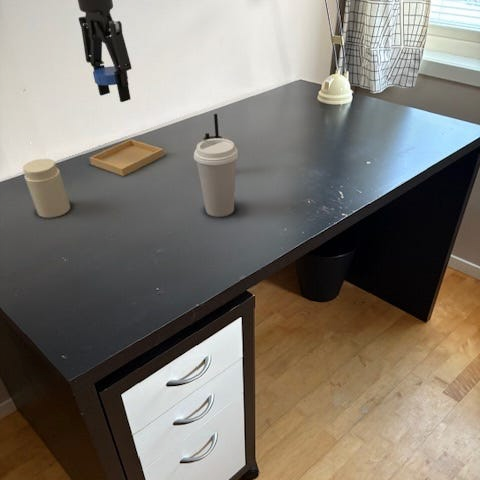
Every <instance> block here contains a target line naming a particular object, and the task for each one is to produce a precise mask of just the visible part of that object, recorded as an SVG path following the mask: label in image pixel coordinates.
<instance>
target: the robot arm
mask: <svg viewBox="0 0 480 480" xmlns="http://www.w3.org/2000/svg"><path fill="white" fill-rule="evenodd" d="M77 4H78V8H79V10H80V12H82V13H85V15H83V16H79V17H78V22H79V26H80V29H81V35H82V36H81V37H82V42H83V43H82V44H83V49H84V57H85V61H86V63H88V64H90V66H91V67H92V69H93V71H95V70H97V69H99V68H103V67H106V66H105V65H104V64H105V62H104V61H103V44H104V45H105V47H106V50H107V52H108V55H109V57H110V59H111V61H112V64H113V66H114V67H115V69H116V71H115V72H114V73H115V78H116V83H117V84H116V88H117V92H118V97H119V102H120V103H124V102H127V101H130V100H131V93H130V88H129V78H128V79H127V76H128V71H131V70H132V68H133V67H132V64H131V60H130V56H129V52H128V49H127V45H126V42H125V37H124V34H123V26H122V25H123V23H122V22H121V21H120V20H117V21H115V20H114V19H113V17H112V14H111V10H112V9H113V8H114V3H113V0H77ZM119 66H120V67H119ZM126 72H127V73H126ZM96 85H97V90H98V93H99V96H105V95H108V94H111V90H110V85H98V84H96Z"/></svg>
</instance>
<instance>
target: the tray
mask: <svg viewBox="0 0 480 480" xmlns="http://www.w3.org/2000/svg"><path fill="white" fill-rule="evenodd" d="M164 153H165V152H164V148H161V147H158V146H155V145H151V144H148V143H145V142H141V141H138V140H136V139H135V140H134V139H131V138H130V139H128V140H125V141H123V142H121V143H119V144H117V145H114V146H112V147H110V148H108V149H105V150H103V151H101V152H99V153H97V154H94V155H92V156H90V157H89V161H90V165H91V166H94V167H97V168H99V169H102V170H105V171H108V172H111V173H113V174H117V175H119V176H121V177H125V176H127V175H129V174H131V173H132V172H133V173H134V172H135V171H137V170H139V169H142V167H145V166H146V165H149V164H150V163H153V162H155V161H157V160H159V159H160V158H163V157H164V156H165V154H164Z"/></svg>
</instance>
